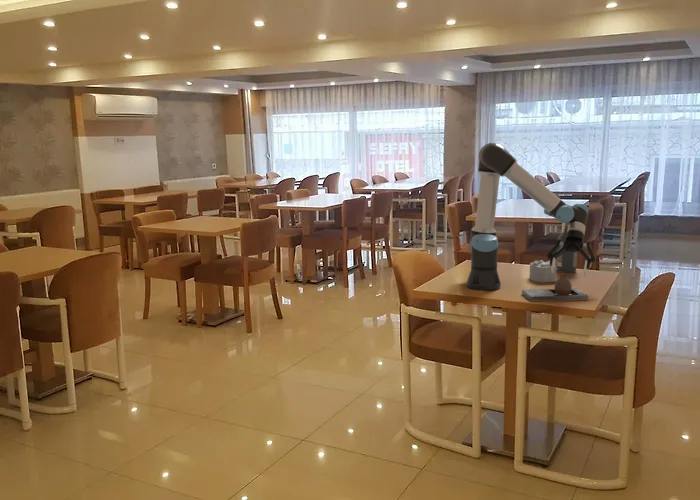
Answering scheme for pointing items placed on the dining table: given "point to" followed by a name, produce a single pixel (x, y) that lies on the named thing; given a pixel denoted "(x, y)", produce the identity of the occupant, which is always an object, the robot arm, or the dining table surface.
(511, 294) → the dining table surface
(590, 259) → the robot arm
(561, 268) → the liquor
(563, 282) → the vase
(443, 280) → the dining table surface
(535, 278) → the lumpy-topped squat cylinder
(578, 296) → the grey slab with opening
